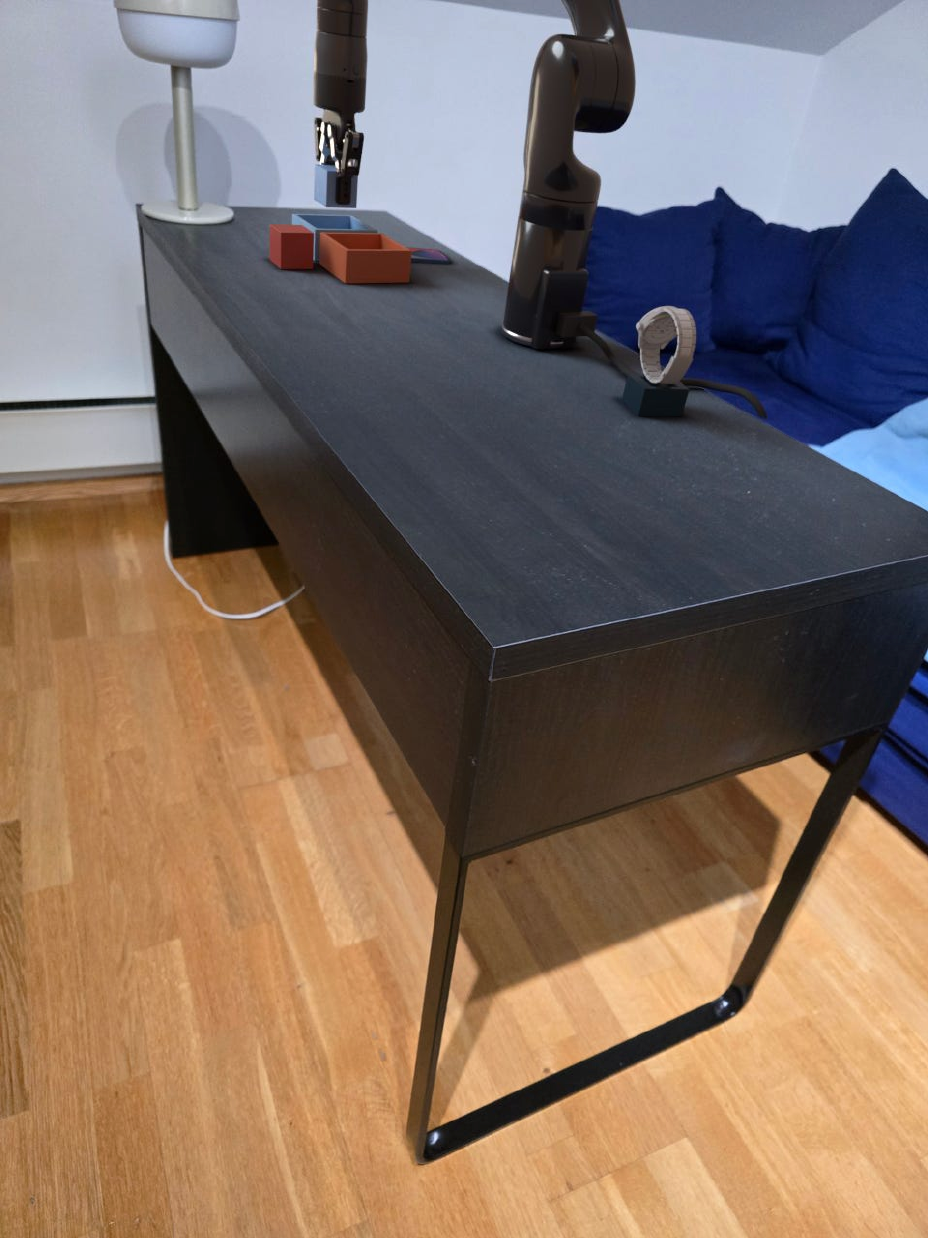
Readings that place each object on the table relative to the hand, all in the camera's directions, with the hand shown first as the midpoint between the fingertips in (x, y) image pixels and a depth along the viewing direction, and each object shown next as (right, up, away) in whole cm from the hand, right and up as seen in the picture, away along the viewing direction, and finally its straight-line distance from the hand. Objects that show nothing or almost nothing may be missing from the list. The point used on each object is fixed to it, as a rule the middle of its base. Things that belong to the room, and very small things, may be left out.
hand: (335, 199), depth 136 cm
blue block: (0, 0, 0) cm, 1 cm away
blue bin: (-1, -6, +4) cm, 8 cm away
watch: (+41, -41, -36) cm, 68 cm away
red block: (-6, -12, -5) cm, 14 cm away
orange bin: (+5, -13, -4) cm, 14 cm away
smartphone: (+9, -6, +8) cm, 14 cm away
